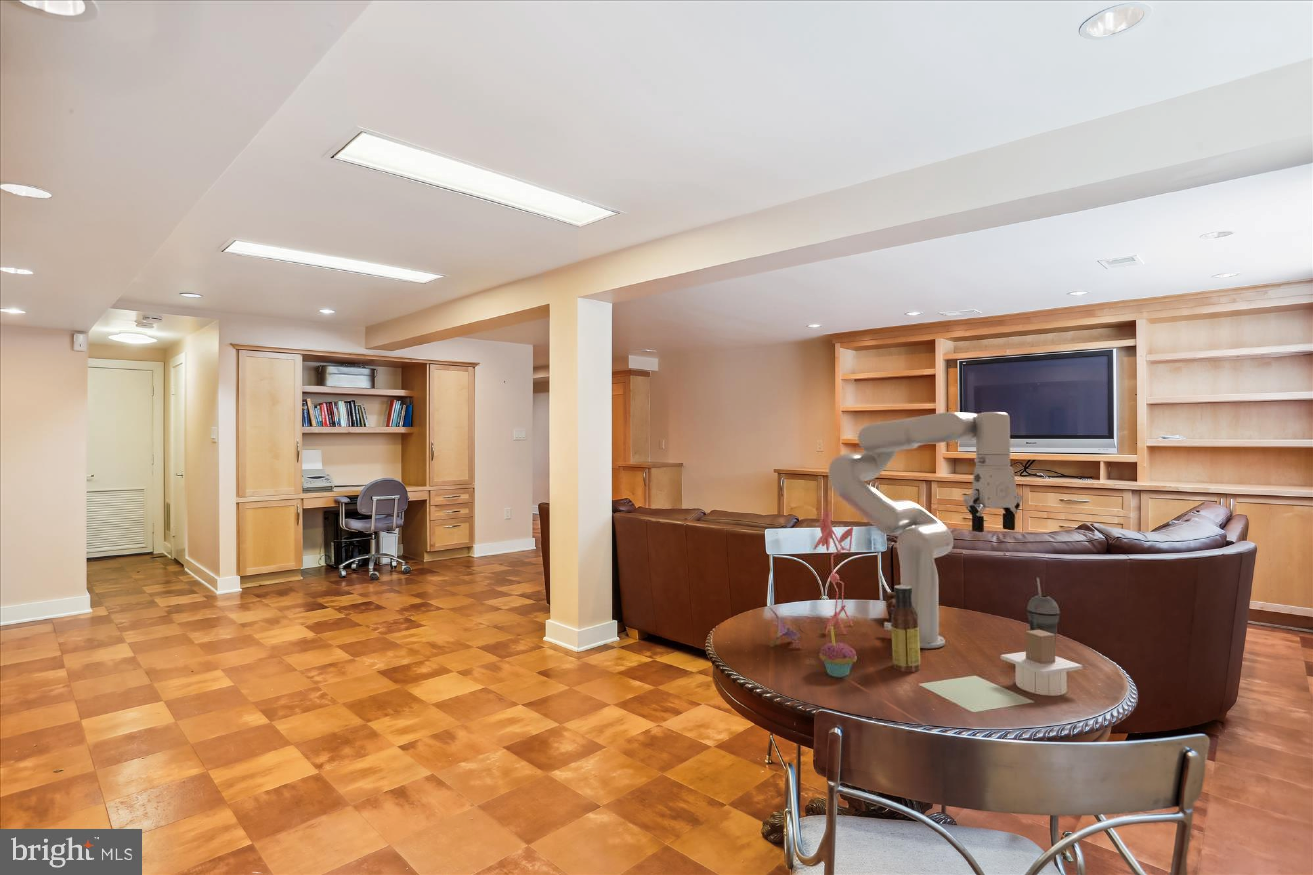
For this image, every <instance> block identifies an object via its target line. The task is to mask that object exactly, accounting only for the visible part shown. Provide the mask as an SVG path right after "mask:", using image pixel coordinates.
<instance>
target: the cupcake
mask: <svg viewBox="0 0 1313 875" xmlns="http://www.w3.org/2000/svg"><path fill="white" fill-rule="evenodd" d="M830 625H831V624H830ZM829 631H830V635H831V642H829V643H826V644H824V645H823V646H822V647H821V648H820V649H819V658H820V659H821V661H822V662H823V663H824V665H825V668H826V672H827V674H828V675H829V676H832V677H835V678H846V676H848V675H849V674H850V670H851V668H852V666H853V663H854V664H855V663H856V662H857V660H858V658H857V652H856V650H855V649H854V648H852V647H851V646H850V645H848V644H846V643H845V642H839V641H836V640H835V632H834V631H835V630H834V626H833V627H832V625H831V627H830V630H829Z"/></svg>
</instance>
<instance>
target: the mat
mask: <svg viewBox="0 0 1313 875" xmlns="http://www.w3.org/2000/svg"><path fill="white" fill-rule="evenodd" d="M918 685H919V686H921V687H923V688H924V689H927V691H928V690H929V691H931V692H932V693H934V694H936V695H938V696H940V697H942V698H944V699H945V700H948V701H950V702H952V703H954V704H956V705H958V706H959V707H962V708H963V709H966V711H967V710H968V711H969V712H972V713H978V712H983V711H990V710H995V709H997V710H998V709H1001V708H1008V707H1012V706H1020V705H1025V704H1026V705H1027V704H1031V703H1035V701H1034V700H1031V699H1029V698H1027V697H1025V696H1022V695H1020V694H1018V693H1016V692H1014V691H1011V690H1008V689H1006V688H1004V687H1002V686H999V685H997V684H995V683H993V682H990V681H988V680H986V679H984V678H982V677H979V676H977V675H970V676H965V677H958V678H956V677H955V678H951V679H950V678H949V679H943V680H938V681H937V680H936V681H931V682H930V681H929V682H924V683H923V682H922V683H918Z"/></svg>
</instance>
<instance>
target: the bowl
mask: <svg viewBox="0 0 1313 875" xmlns="http://www.w3.org/2000/svg"><path fill="white" fill-rule="evenodd" d="M1067 672H1068V671H1067ZM1067 672H1060V673H1054V674H1048V675H1041V674H1039V673H1036V672H1034V671H1031V670H1029V669H1026V668H1024V667H1021V666H1018V665H1016V664H1015V685H1016V686H1017V687H1018V688H1020V689H1021V690H1023V691H1027V692H1028V693H1032V694H1036V695H1037V694H1038V695H1042V696H1054V697H1055V696H1062V695H1064V694H1066V693H1067V691H1068V687H1067V683H1068V682H1067V678H1068V677H1067Z"/></svg>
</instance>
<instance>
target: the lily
mask: <svg viewBox="0 0 1313 875" xmlns="http://www.w3.org/2000/svg"><path fill="white" fill-rule="evenodd" d="M769 609H770V611H771V612H772V614H774V616H775V618H776V620H777V621H774V622H773V624H774V625H775V626H776V627H777V628H778V629H777V630H778V632H777V636H776V638H775V639H774V641H773V643H772V644H771V647H772V648H773V647H774V645H775V643H776V641H777V640H778V638H779V637H784V638H788V639H789V640H790V642H792V641H793V642H792V643H795V645H796V646H798V648H799V649H802V648H801V645H800V643H798V641H797V640H796V639H798V638H799V639H800V638H801V635H800V634H799V632H797V631H796V630H795V629H794V628H792V626H790V625H789V624H788V625H787V624H786V623H785V621H784V619H783V618H782V617H780V616H779V614H778V613H776V612H775V611H774V610H773V609H772V608H771V607H769Z"/></svg>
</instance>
